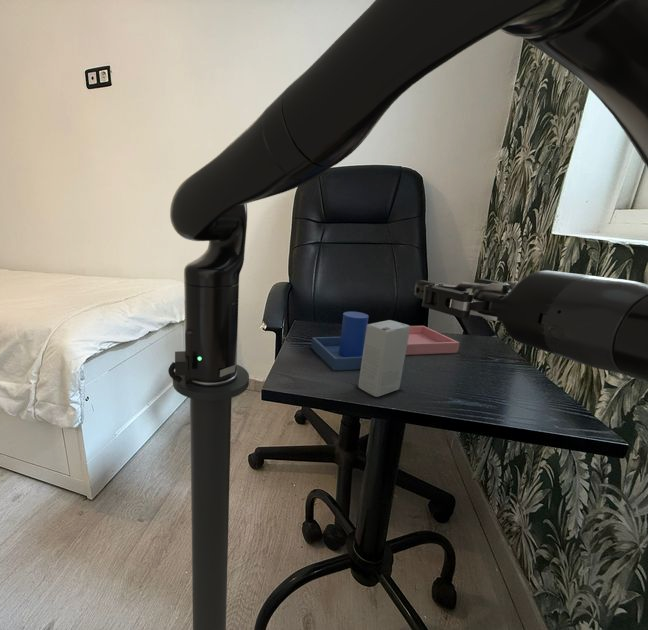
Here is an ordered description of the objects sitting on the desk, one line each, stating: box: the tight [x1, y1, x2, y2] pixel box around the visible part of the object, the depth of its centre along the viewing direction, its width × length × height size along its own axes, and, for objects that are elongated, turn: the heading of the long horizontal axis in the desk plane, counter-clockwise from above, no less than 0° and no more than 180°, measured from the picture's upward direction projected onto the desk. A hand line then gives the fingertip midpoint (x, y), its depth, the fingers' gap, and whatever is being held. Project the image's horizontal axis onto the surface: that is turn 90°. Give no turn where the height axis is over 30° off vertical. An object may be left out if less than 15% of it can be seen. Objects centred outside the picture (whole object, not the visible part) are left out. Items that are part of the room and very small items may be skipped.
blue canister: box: [339, 311, 370, 357], centre depth 75 cm, size 5×5×9 cm
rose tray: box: [405, 325, 460, 356], centre depth 85 cm, size 13×12×2 cm
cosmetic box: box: [357, 319, 411, 398], centre depth 61 cm, size 6×4×12 cm
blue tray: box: [310, 336, 362, 371], centre depth 76 cm, size 13×12×2 cm
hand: (446, 287), depth 47 cm, fingers open, 8 cm apart
